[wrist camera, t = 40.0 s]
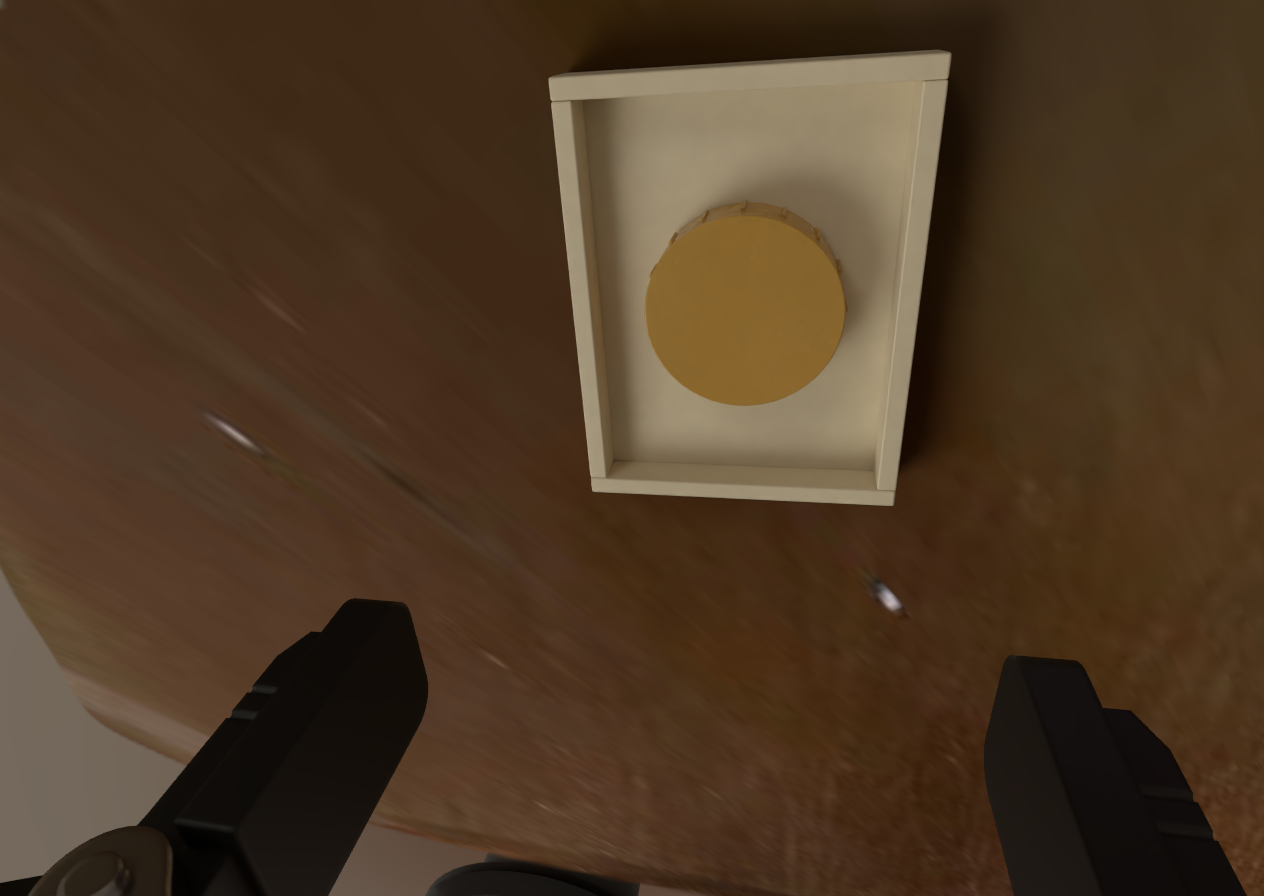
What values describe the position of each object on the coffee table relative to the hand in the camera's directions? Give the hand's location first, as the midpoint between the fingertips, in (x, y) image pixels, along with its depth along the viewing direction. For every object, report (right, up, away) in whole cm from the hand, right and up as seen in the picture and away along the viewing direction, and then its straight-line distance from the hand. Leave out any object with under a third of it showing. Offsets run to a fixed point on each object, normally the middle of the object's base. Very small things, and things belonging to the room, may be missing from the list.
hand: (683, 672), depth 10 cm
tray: (+3, +8, +14) cm, 16 cm away
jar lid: (+3, +7, +12) cm, 14 cm away
